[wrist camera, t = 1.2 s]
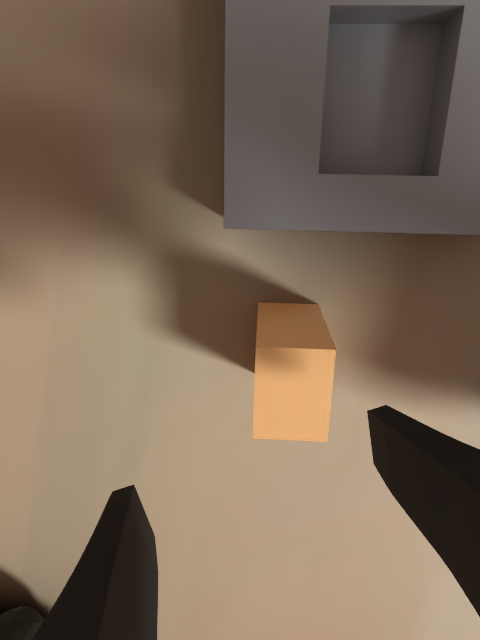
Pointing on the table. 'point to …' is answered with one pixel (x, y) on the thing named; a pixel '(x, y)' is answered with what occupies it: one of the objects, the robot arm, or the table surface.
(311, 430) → the plug
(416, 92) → the grey flat block
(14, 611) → the squash
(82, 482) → the table surface
